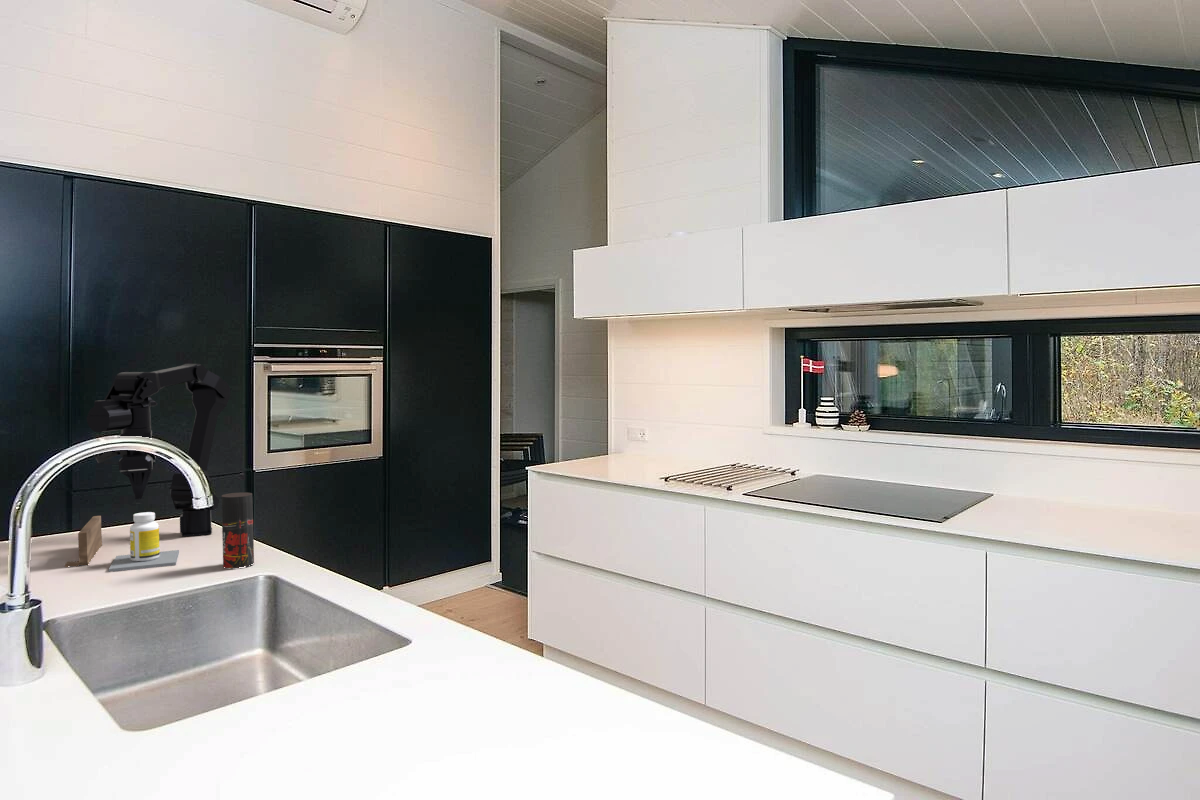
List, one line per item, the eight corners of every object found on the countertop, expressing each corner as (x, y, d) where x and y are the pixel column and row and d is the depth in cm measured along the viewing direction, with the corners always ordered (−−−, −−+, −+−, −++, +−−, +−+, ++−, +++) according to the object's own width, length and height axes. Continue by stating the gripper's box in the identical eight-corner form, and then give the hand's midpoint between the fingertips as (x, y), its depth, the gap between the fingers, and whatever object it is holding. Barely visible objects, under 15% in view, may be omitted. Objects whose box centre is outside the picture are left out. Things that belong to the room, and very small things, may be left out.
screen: (102, 545, 179) (101, 515, 179) (88, 565, 161) (86, 532, 161) (81, 546, 178) (80, 517, 177) (65, 567, 160) (64, 534, 159)
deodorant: (216, 566, 160) (215, 495, 159) (241, 560, 165) (240, 491, 165) (235, 570, 157) (233, 498, 157) (260, 563, 163) (258, 493, 162)
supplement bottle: (165, 556, 167) (164, 511, 166) (148, 562, 161) (147, 516, 161) (142, 555, 167) (141, 511, 167) (124, 561, 162) (123, 515, 161)
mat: (179, 552, 172) (179, 549, 172) (175, 565, 161) (175, 562, 161) (116, 558, 167) (116, 555, 167) (108, 571, 156) (108, 569, 156)
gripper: (98, 425, 177) (102, 492, 178) (88, 433, 160) (92, 507, 161) (154, 423, 182) (157, 488, 183) (150, 430, 165) (153, 501, 167)
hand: (139, 495), depth 173 cm, fingers open, 9 cm apart
